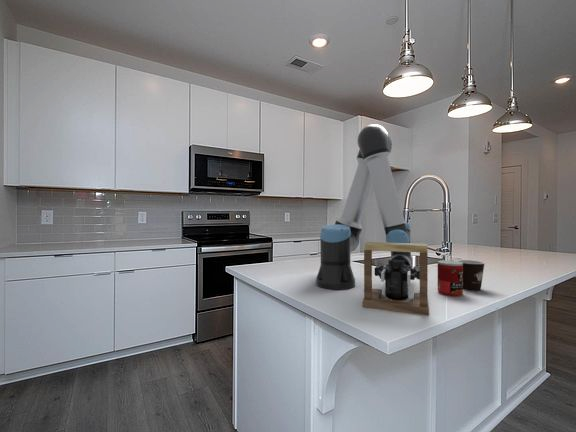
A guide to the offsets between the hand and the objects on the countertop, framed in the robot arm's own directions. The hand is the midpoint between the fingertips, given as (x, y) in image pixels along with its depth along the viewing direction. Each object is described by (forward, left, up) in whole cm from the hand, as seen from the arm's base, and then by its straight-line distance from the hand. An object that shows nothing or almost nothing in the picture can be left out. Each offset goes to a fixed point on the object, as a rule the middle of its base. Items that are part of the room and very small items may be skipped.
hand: (395, 278), depth 87 cm
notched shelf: (0, +4, -9) cm, 10 cm away
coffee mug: (+22, +32, -9) cm, 40 cm away
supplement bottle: (0, +5, -7) cm, 9 cm away
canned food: (+16, +23, -9) cm, 30 cm away
